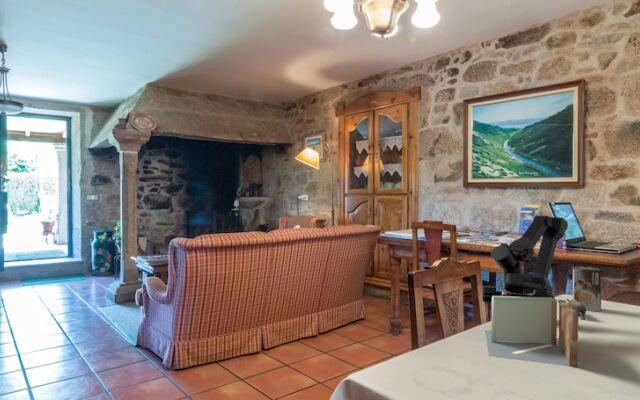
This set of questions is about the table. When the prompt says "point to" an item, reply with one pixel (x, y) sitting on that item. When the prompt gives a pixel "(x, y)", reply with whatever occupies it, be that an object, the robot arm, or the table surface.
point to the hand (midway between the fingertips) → (516, 320)
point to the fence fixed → (568, 332)
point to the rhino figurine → (578, 307)
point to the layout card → (527, 351)
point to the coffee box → (587, 287)
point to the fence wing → (524, 319)
